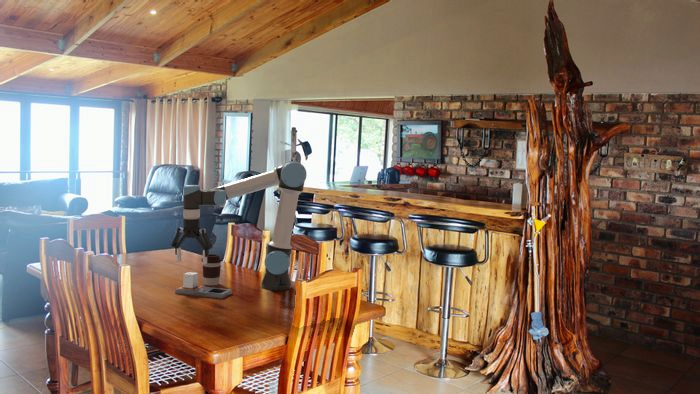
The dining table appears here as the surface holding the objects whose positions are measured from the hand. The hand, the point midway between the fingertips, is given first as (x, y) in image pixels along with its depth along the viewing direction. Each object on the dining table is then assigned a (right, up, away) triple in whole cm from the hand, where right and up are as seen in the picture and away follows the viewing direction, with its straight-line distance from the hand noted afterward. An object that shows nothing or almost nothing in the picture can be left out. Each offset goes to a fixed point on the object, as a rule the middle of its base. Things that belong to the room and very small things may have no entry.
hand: (191, 262), depth 278 cm
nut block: (-1, -14, +1) cm, 14 cm away
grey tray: (+6, -15, 0) cm, 16 cm away
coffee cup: (+5, -13, +19) cm, 24 cm away
